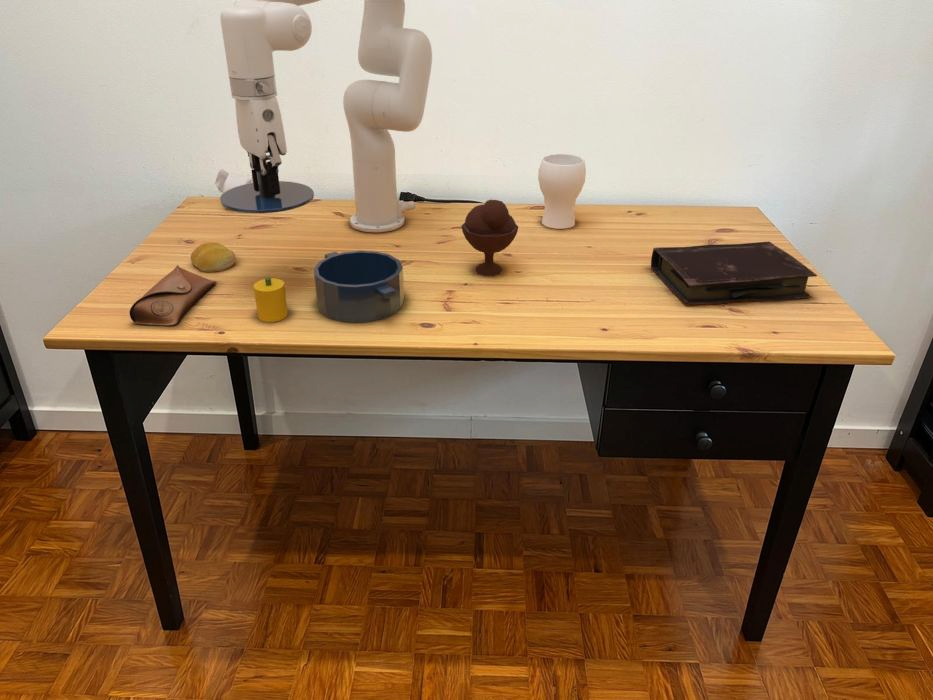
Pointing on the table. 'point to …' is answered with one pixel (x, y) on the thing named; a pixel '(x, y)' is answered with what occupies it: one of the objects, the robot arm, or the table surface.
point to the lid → (255, 202)
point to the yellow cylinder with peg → (270, 300)
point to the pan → (359, 286)
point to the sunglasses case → (170, 298)
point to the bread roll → (212, 257)
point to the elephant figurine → (231, 180)
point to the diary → (731, 273)
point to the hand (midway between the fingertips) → (267, 191)
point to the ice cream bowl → (489, 233)
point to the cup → (560, 188)
